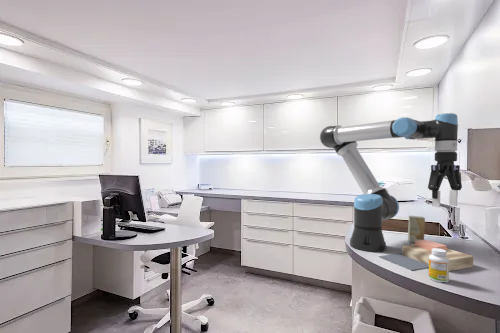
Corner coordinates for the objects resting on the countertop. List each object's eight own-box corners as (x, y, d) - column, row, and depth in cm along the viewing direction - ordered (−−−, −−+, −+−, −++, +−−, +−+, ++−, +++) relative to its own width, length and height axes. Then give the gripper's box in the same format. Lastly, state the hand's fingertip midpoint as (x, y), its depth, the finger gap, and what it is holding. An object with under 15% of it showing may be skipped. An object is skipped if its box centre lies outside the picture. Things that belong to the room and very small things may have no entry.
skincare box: (409, 242, 132) (410, 217, 132) (407, 239, 136) (407, 215, 136) (424, 243, 130) (425, 217, 130) (422, 241, 134) (422, 216, 134)
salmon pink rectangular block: (414, 245, 113) (414, 240, 113) (425, 244, 115) (425, 239, 115) (436, 252, 104) (436, 247, 104) (446, 250, 107) (446, 245, 106)
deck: (402, 255, 113) (402, 245, 113) (426, 251, 117) (426, 242, 117) (446, 271, 96) (446, 260, 96) (473, 266, 101) (473, 256, 100)
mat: (378, 256, 110) (378, 256, 110) (398, 254, 114) (398, 253, 114) (412, 270, 96) (412, 269, 96) (433, 267, 100) (433, 266, 100)
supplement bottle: (434, 275, 93) (434, 246, 93) (452, 281, 88) (452, 251, 88) (425, 278, 90) (425, 248, 90) (443, 284, 85) (443, 253, 85)
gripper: (435, 150, 105) (434, 208, 105) (473, 152, 112) (472, 206, 112) (417, 151, 112) (416, 205, 112) (454, 152, 119) (453, 203, 120)
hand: (444, 206), depth 112 cm, fingers open, 9 cm apart
